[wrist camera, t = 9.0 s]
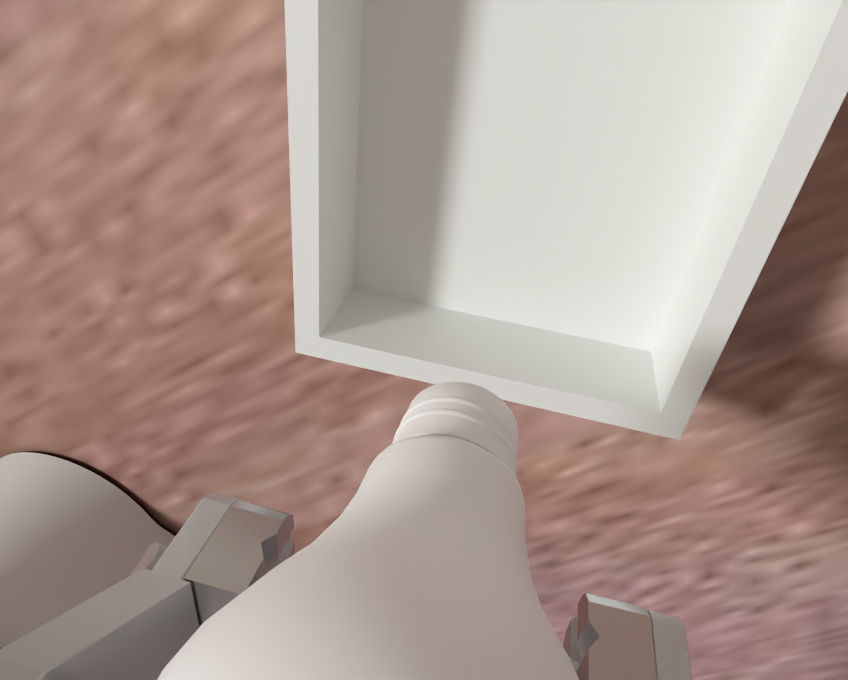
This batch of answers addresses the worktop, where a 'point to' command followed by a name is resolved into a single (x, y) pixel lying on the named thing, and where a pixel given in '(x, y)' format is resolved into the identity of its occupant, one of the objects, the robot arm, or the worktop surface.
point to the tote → (549, 187)
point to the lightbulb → (402, 570)
